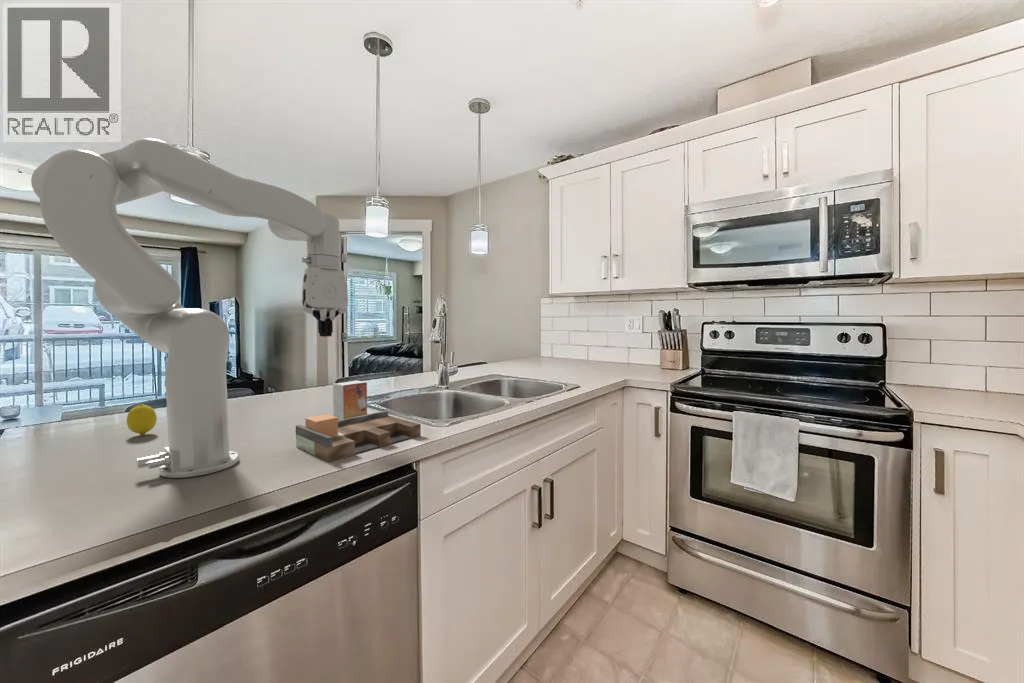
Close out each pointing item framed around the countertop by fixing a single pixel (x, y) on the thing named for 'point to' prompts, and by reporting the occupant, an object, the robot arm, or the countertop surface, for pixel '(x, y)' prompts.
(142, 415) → the lemon
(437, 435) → the countertop surface
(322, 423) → the block
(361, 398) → the small box
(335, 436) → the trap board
